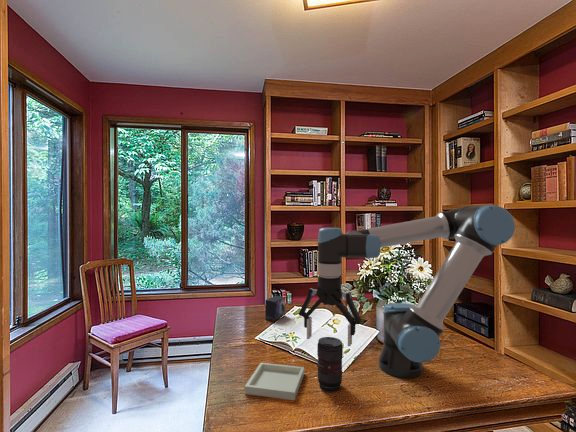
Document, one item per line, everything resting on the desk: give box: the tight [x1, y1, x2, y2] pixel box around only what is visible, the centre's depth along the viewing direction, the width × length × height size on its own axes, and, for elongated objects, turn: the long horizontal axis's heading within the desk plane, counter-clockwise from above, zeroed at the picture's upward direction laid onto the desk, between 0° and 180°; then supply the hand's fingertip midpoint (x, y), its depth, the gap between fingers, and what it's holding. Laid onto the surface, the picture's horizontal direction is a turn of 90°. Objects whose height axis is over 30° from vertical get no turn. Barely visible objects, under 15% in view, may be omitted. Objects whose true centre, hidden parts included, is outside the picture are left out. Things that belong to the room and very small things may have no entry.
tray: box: [244, 362, 305, 401], centre depth 108 cm, size 16×16×2 cm
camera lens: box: [316, 336, 344, 393], centre depth 106 cm, size 8×8×15 cm
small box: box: [264, 295, 286, 322], centre depth 172 cm, size 11×6×10 cm, turn 149°
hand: (328, 341), depth 106 cm, fingers open, 13 cm apart
